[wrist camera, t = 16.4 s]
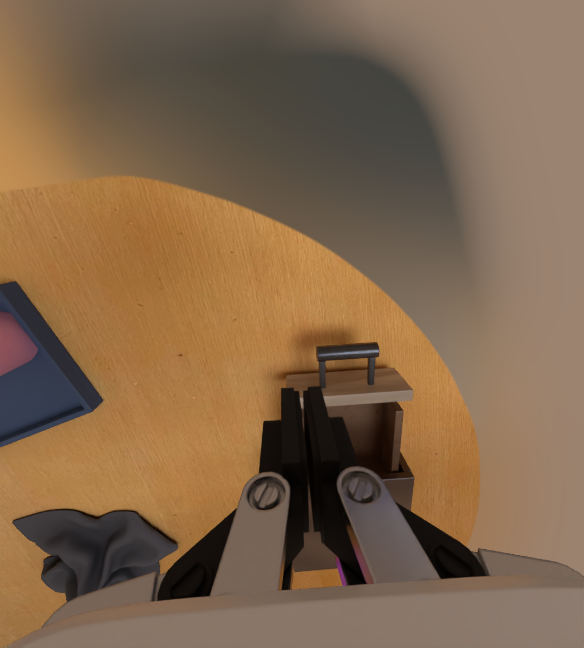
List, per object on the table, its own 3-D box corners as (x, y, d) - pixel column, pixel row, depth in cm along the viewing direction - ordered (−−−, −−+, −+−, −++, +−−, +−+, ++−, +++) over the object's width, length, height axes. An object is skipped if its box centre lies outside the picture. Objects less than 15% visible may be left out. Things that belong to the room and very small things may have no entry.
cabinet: (286, 442, 35) (287, 487, 29) (391, 434, 35) (414, 477, 29) (292, 518, 39) (294, 572, 33) (385, 511, 40) (405, 562, 33)
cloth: (185, 519, 39) (169, 570, 33) (163, 600, 44) (145, 657, 38) (14, 488, 36) (-38, 538, 30) (12, 579, 41) (-32, 637, 35)
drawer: (283, 337, 30) (284, 356, 25) (396, 330, 30) (417, 347, 25) (292, 461, 35) (294, 495, 30) (387, 454, 35) (404, 486, 31)
